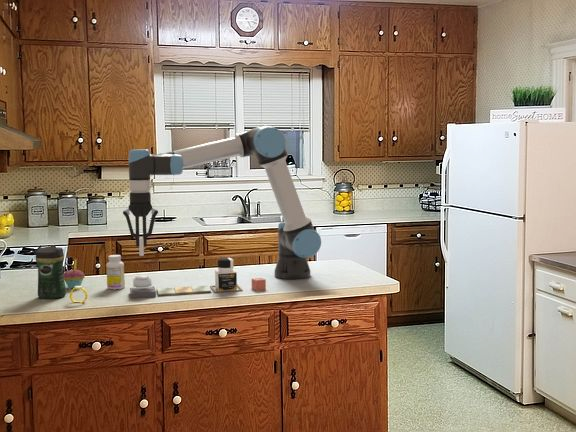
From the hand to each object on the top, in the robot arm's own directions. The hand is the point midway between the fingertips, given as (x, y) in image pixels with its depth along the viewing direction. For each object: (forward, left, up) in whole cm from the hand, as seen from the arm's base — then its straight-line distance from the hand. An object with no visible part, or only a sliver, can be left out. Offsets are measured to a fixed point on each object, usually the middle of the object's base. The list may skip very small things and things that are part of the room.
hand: (141, 255), depth 246 cm
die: (-43, +3, -15) cm, 46 cm away
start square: (-31, -1, -15) cm, 35 cm away
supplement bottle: (+10, -15, -15) cm, 23 cm away
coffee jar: (+33, -7, -15) cm, 37 cm away
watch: (+23, +5, -15) cm, 28 cm away
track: (-15, -1, -15) cm, 21 cm away
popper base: (0, 0, -15) cm, 15 cm away
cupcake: (+26, -21, -15) cm, 36 cm away
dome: (0, 0, -11) cm, 11 cm away
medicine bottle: (-31, -1, -15) cm, 35 cm away
